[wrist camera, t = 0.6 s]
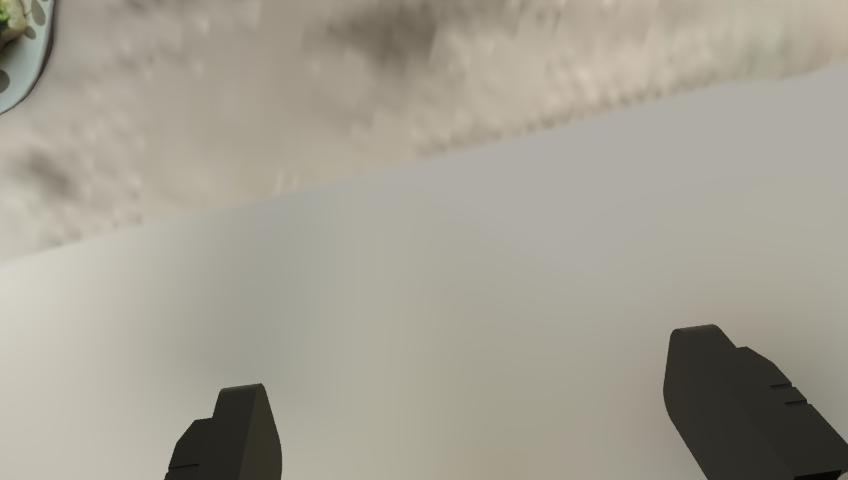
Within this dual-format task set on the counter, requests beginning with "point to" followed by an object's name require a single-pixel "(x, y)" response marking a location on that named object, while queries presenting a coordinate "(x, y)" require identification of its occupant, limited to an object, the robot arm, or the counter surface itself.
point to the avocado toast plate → (23, 47)
